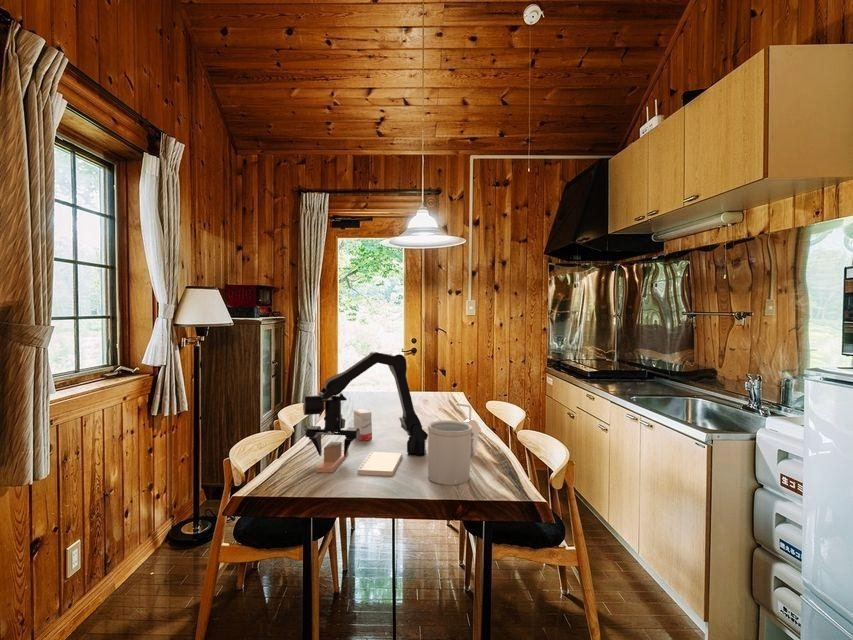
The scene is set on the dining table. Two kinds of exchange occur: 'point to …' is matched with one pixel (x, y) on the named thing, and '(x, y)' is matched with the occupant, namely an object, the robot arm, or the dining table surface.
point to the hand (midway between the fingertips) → (332, 456)
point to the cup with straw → (474, 433)
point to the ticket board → (380, 464)
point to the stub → (331, 457)
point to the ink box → (363, 423)
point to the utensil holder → (449, 452)
